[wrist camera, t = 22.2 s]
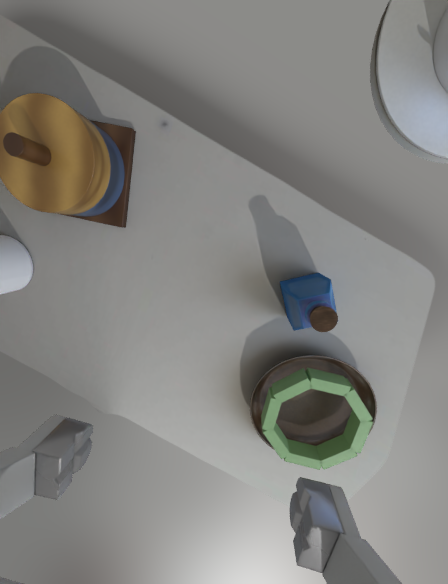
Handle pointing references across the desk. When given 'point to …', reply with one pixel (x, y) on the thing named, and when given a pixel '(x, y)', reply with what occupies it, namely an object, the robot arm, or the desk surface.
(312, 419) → the plant saucer
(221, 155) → the desk surface
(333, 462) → the ring
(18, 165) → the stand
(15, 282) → the mug
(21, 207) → the desk surface
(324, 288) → the perfume bottle
